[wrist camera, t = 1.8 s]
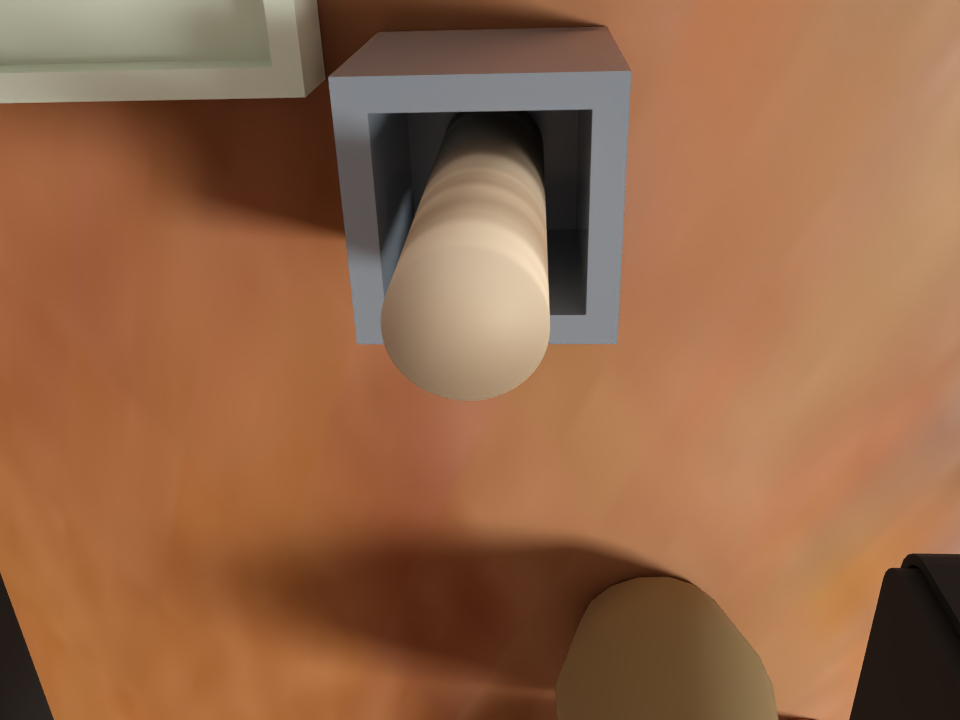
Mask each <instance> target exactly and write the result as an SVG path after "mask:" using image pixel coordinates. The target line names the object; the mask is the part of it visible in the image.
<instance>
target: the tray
mask: <svg viewBox="0 0 960 720" xmlns="http://www.w3.org/2000/svg"><path fill="white" fill-rule="evenodd" d="M324 80H325V69H324V60H323V51H322V42H321V33H320V24H319V15H318V6H317V0H0V103H40V102H93V101H145V100H197V99H249V98H301V97H306V96H308V95H309V94H310V93H311V92H312V91H313V90H314V89H315V88H316V87H318V86H319V85H320V84H321V83H322V82H323V81H324Z"/></svg>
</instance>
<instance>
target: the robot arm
mask: <svg viewBox="0 0 960 720" xmlns="http://www.w3.org/2000/svg"><path fill="white" fill-rule="evenodd" d="M0 720H54V719H53V716H52V713H51V711H50V708H49V705H48V702H47V700H46V697H45V694H44V692H43V689H42V686H41V683H40V681H39V678H38V675H37V672H36V670H35V667H34V664H33V661H32V659H31V656H30V653H29V651H28V648H27V645H26V642H25V640H24V637H23V634H22V631H21V629H20V626H19V623H18V620H17V618H16V615H15V612H14V609H13V607H12V604H11V601H10V599H9V596H8V593H7V590H6V588H5V585H4V582H3V579H2V577H1V574H0ZM849 720H960V554H909V555H907V557H906V558H905V559H904V560H903V563H902V565H901V568H890V569H888V570H887V571H886V573H885V575H884V578H883V582H882V586H881V590H880V594H879V599H878V603H877V607H876V611H875V615H874V619H873V624H872V628H871V632H870V636H869V640H868V644H867V649H866V653H865V657H864V661H863V665H862V669H861V674H860V678H859V682H858V686H857V690H856V694H855V699H854V703H853V707H852V711H851V715H850V719H849Z"/></svg>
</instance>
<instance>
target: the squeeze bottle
mask: <svg viewBox="0 0 960 720" xmlns="http://www.w3.org/2000/svg"><path fill="white" fill-rule="evenodd" d="M555 689H556V715H557V720H778V714H777V708H776V702H775V697H774V691H773V685H772V682H771V680H770V678H769V676H768V674H767V672H766V670H765V667H764V665H763V663H762V661H761V659H760V657H759V655H758V654H757V653H756V651H755V650H754V649H753V648H752V646H751V645H750V644H749V643H748V641H747V640H746V639H745V638H744V636H743V635H742V634H741V633H740V631H739V630H738V629H737V628H736V626H735V625H734V624H733V623H732V621H731V620H730V619H729V618H728V616H727V615H726V614H725V613H724V611H723V610H722V609H721V608H720V606H719V605H718V604H717V603H716V601H715V600H714V599H712V598H711V597H710V596H709V595H707V594H706V593H705V592H703V591H702V590H701V589H700V588H698V587H697V586H696V585H693V584H690V583H687V582H684V581H680V580H677V579H674V578H671V577H637V578H634V579H631V580H628V581H625V582H622V583H618V584H615V585H612V586H610V587H609V588H608V589H606V590H605V591H604V592H602V593H601V594H600V595H598V596H597V597H596V598H594V599H593V600H592V601H591V602H590V604H589V605H588V607H587V609H586V611H585V613H584V615H583V616H582V618H581V620H580V622H579V625H578V627H577V630H576V633H575V635H574V638H573V640H572V643H571V645H570V648H569V651H568V653H567V656H566V658H565V661H564V663H563V666H562V669H561V671H560V674H559V676H558V679H557V681H556V684H555Z"/></svg>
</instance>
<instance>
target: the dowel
mask: <svg viewBox="0 0 960 720" xmlns="http://www.w3.org/2000/svg"><path fill="white" fill-rule="evenodd" d="M380 319H381V333H382V339H383V342H384V345H385V348H386V350H387V352H388V354H389V356H390V358H391V360H392V361H393V363H394V364H395V366H396V367H397V368H398V369H399V370H400V372H401V373H402V374H403V375H404V376H405V377H407V378H408V379H409V380H410V381H411V382H413V383H414V384H415V385H417V386H418V387H420V388H422V389H424V390H425V391H427V392H430V393H432V394H434V395H437V396H440V397H444V398H447V399H453V400H462V401H475V400H483V399H489V398H492V397H496V396H499V395H502V394H504V393H506V392H509V391H510V390H512V389H514V388H515V387H517V386H518V385H520V384H521V383H522V382H524V381H525V380H526V379H527V378H528V377H529V376H530V375H531V374H532V373H533V372H534V371H535V369H536V368H537V367H538V365H539V364H540V362H541V360H542V358H543V357H544V354H545V351H546V349H547V346H548V341H549V336H550V310H549V283H548V256H547V229H546V202H545V175H544V149H543V140H542V135H541V132H540V130H539V128H538V126H537V124H536V122H535V121H534V119H533V118H532V117H531V116H530V115H529V113H527V112H526V111H474V112H459V113H458V114H457V115H456V116H455V117H454V118H453V119H452V121H451V122H450V124H449V126H448V128H447V130H446V133H445V136H444V138H443V141H442V144H441V146H440V149H439V152H438V155H437V157H436V160H435V163H434V165H433V168H432V171H431V174H430V176H429V179H428V182H427V184H426V187H425V190H424V193H423V195H422V198H421V201H420V203H419V206H418V209H417V212H416V214H415V217H414V220H413V222H412V225H411V228H410V230H409V233H408V236H407V239H406V241H405V244H404V247H403V249H402V252H401V255H400V258H399V260H398V263H397V266H396V268H395V271H394V274H393V277H392V279H391V282H390V285H389V287H388V290H387V293H386V296H385V298H384V302H383V305H382V310H381V318H380Z"/></svg>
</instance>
